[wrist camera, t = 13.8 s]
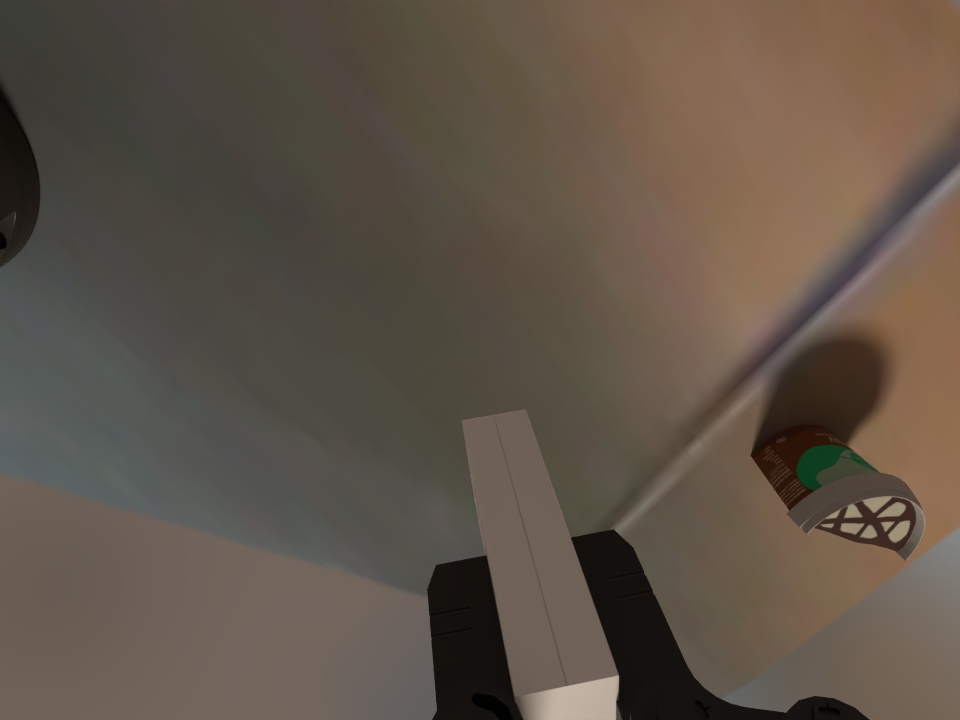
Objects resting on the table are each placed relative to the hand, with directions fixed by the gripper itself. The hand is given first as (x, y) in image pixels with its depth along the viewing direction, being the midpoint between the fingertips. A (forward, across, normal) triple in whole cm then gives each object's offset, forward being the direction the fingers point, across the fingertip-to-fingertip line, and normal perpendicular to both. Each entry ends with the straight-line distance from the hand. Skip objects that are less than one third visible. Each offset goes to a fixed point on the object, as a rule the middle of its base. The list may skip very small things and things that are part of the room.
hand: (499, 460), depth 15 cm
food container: (+30, +31, -30) cm, 52 cm away
